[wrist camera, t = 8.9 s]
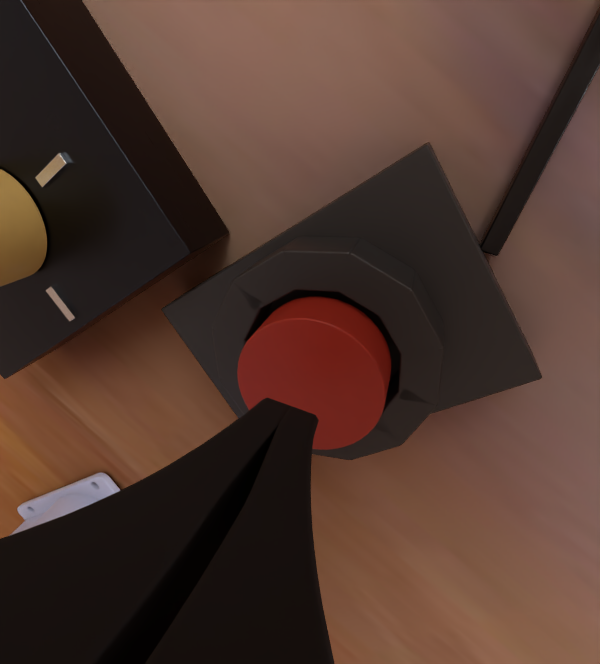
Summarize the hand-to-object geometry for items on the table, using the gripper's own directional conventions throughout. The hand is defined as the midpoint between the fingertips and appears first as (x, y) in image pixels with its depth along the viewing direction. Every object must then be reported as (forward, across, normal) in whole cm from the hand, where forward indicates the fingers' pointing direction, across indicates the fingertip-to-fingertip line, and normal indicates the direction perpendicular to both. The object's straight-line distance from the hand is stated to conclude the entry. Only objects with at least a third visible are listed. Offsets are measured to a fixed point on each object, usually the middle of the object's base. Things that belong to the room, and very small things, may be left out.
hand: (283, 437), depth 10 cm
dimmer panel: (+7, +12, -1) cm, 14 cm away
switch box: (+7, 0, 0) cm, 7 cm away
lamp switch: (+4, 0, 0) cm, 4 cm away
